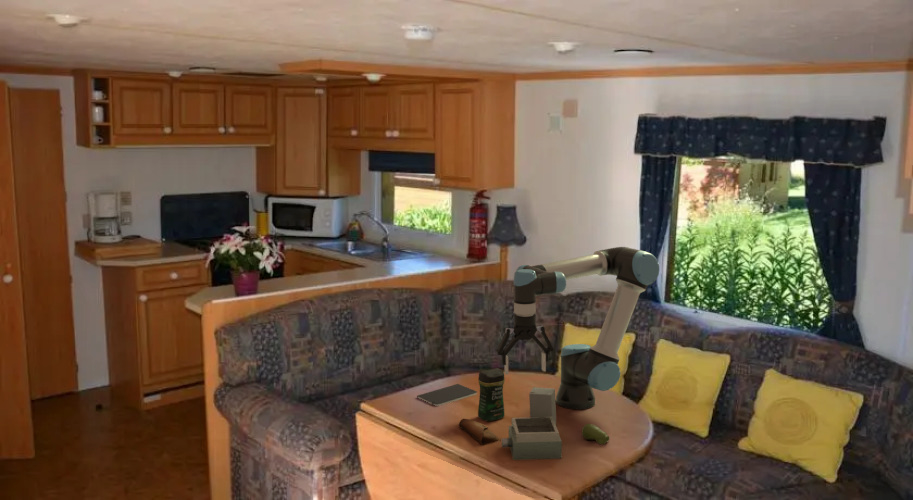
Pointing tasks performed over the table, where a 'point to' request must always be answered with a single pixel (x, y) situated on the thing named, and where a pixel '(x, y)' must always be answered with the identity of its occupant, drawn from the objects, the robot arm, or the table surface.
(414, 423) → the table surface
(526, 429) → the grey open rectangular box
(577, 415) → the table surface
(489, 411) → the coffee jar
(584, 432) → the pear
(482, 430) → the sunglasses case
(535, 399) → the skincare box
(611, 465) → the table surface
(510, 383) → the table surface
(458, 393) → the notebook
